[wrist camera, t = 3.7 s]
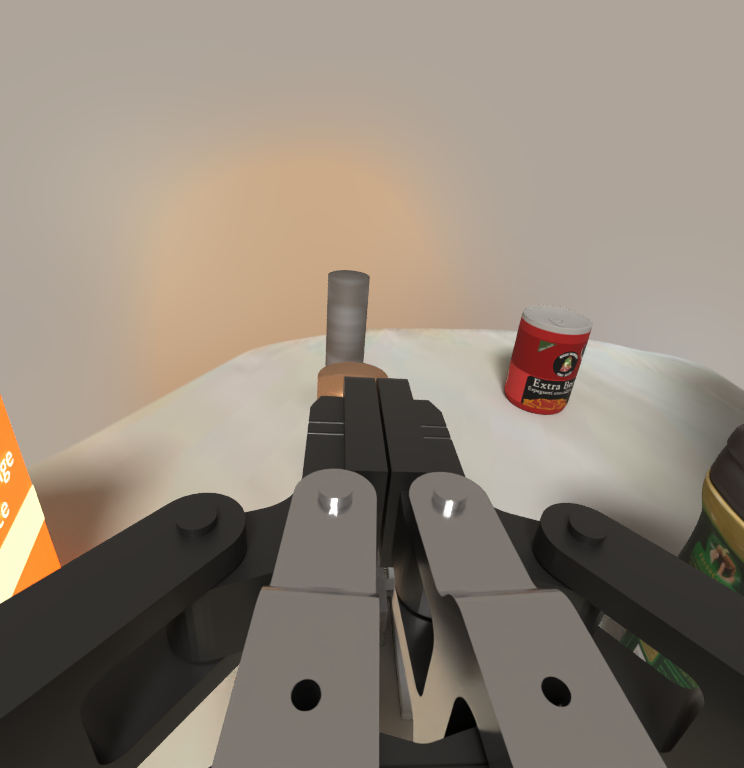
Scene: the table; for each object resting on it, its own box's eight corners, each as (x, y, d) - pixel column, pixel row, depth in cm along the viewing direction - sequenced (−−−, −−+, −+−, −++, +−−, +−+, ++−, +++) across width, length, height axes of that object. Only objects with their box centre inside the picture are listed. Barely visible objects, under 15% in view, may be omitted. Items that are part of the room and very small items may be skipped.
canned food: (521, 417, 54) (545, 329, 48) (492, 384, 60) (510, 304, 55) (579, 414, 55) (609, 329, 50) (544, 383, 62) (567, 304, 57)
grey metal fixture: (313, 442, 46) (317, 265, 38) (442, 446, 47) (473, 275, 39) (286, 721, 24) (280, 447, 16) (527, 716, 25) (641, 458, 17)
